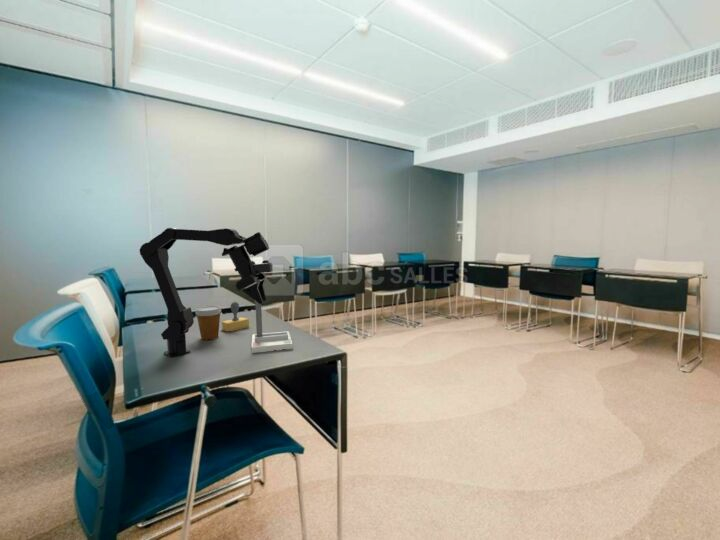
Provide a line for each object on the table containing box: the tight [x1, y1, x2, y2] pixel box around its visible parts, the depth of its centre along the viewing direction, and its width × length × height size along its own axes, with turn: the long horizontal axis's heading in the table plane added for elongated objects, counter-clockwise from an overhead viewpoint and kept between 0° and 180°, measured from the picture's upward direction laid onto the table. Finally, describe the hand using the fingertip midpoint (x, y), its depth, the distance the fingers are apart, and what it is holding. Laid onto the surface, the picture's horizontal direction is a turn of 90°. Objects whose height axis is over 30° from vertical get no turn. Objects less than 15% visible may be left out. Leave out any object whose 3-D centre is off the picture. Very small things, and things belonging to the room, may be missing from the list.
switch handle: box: [253, 299, 263, 337], centre depth 123 cm, size 3×3×18 cm
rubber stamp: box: [221, 301, 250, 332], centre depth 146 cm, size 10×6×12 cm, turn 140°
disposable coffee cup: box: [194, 305, 222, 341], centre depth 133 cm, size 10×10×12 cm
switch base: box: [251, 330, 293, 354], centre depth 125 cm, size 14×16×4 cm
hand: (263, 302), depth 116 cm, fingers open, 6 cm apart
